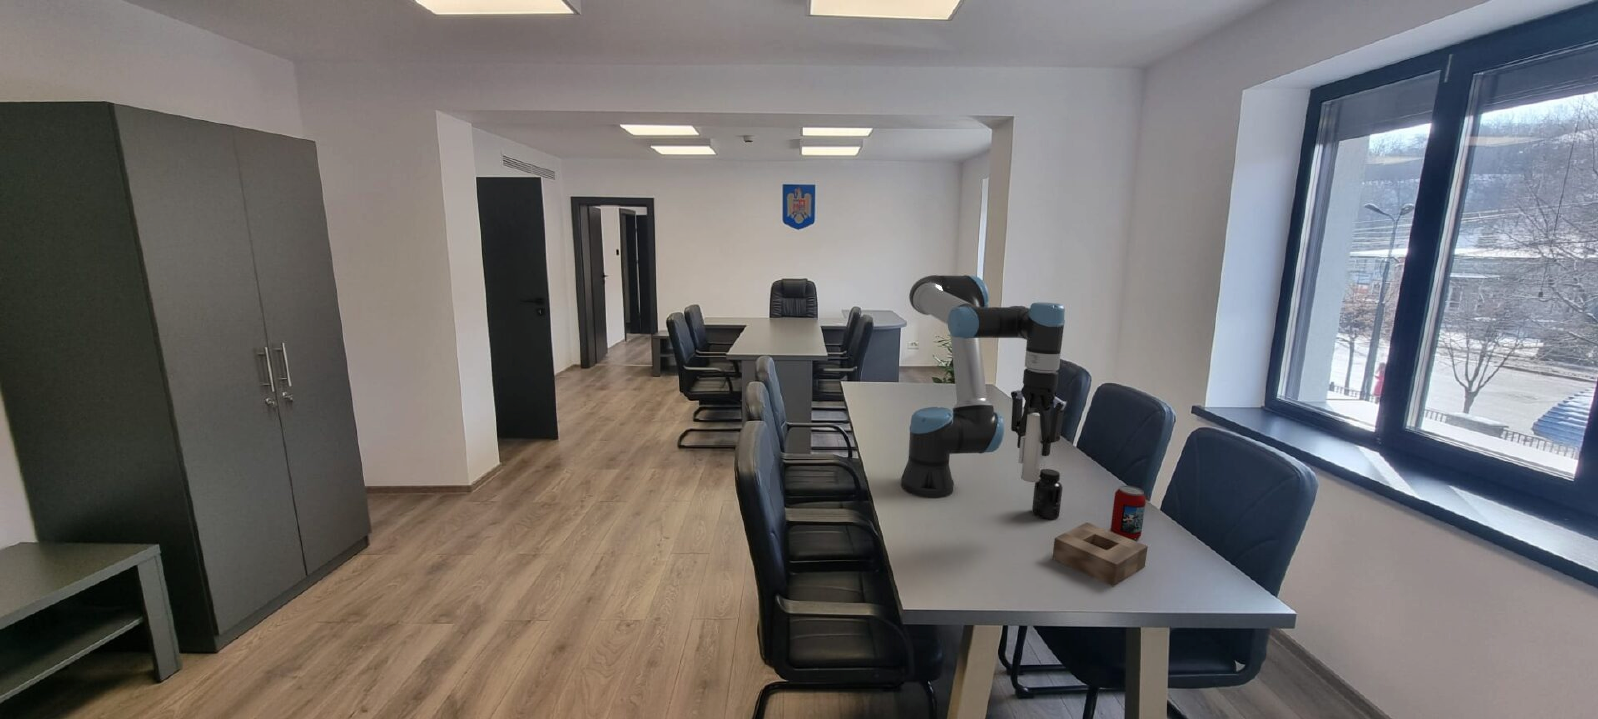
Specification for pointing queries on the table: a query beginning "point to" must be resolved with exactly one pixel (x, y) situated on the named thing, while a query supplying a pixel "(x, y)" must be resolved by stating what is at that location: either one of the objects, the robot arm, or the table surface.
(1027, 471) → the dowel
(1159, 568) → the table surface
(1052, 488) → the supplement bottle
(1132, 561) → the socket block
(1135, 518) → the beverage can
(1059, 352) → the robot arm
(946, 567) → the table surface
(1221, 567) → the table surface
